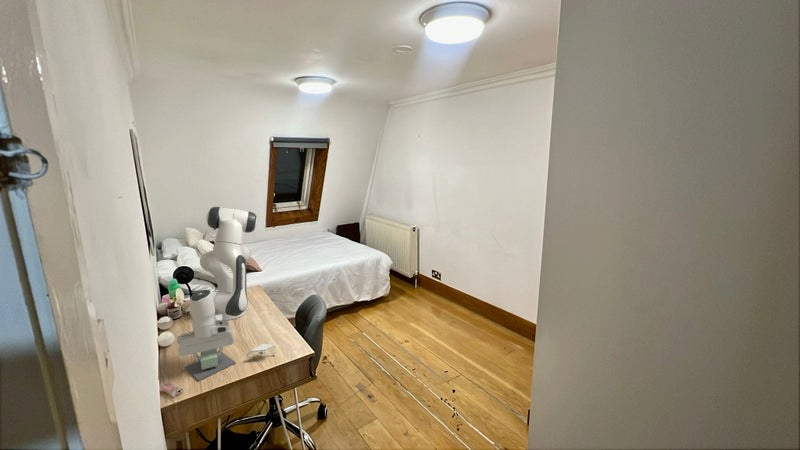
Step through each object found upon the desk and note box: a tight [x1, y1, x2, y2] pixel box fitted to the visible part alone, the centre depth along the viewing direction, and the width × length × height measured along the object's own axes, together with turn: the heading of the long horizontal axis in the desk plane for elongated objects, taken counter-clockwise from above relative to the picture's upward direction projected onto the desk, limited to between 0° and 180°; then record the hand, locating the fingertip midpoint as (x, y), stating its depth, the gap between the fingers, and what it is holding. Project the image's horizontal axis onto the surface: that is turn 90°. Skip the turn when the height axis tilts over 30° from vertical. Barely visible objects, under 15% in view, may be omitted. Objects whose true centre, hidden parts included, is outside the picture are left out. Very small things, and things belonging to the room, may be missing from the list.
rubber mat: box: [184, 351, 237, 382], centre depth 145 cm, size 14×15×1 cm
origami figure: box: [245, 343, 278, 360], centre depth 151 cm, size 12×8×5 cm
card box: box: [200, 348, 218, 370], centre depth 145 cm, size 6×9×4 cm, turn 29°
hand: (209, 358), depth 145 cm, fingers closed on card box, 6 cm apart
